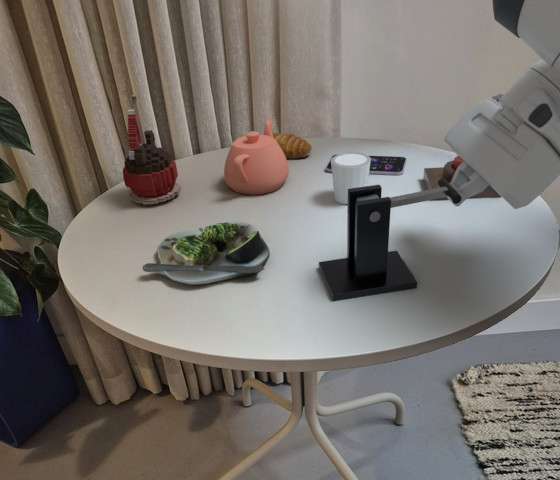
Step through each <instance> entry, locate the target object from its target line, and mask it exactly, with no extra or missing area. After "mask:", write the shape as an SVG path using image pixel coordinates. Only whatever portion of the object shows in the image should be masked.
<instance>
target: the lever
mask: <svg viewBox="0 0 560 480" xmlns="http://www.w3.org/2000/svg"><path fill="white" fill-rule="evenodd" d="M437 185H438V187H439V188H435V189H430V190H427V189H426V190H420V191H416V192H411V193H405V194H401V195H397V196H391V197H390V196H389V198H390V199H391V209H392V208H399V207H402V206H408V205H413V204H417V203H418V204H419V203H422V202H428V201H430V200H433V199H438V198H443V197H448V198H449V199H450V200H451V201H452V202H453V203H454V204H458V203H460V201H461V199H462V197H461V196H460V195H459V194H458V193H457V192H456V190H455V189H454V188H453V187H452V186H451V185H450V184H449V183H448V182H447V181H446V180H445V179H440V180H439V181H438V183H437ZM377 198H379V197H378V195H377V194H376V193H375V194H370V195H365V196H360V197H356V201H363V200H370V199H377ZM450 200H449V201H450ZM451 201H450V202H451ZM452 202H451V203H452ZM453 203H452V204H453ZM454 204H453V205H454Z"/></svg>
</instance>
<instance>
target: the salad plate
mask: <svg viewBox="0 0 560 480" xmlns="http://www.w3.org/2000/svg"><path fill="white" fill-rule="evenodd" d="M156 253H157V258H158V261H159V263H154V262H151V263H150V262H149V263H145V264H143V265H142V271H143V272H146V273H152V274H153V273H154V274H158V275H162V276H165V277H167V278H168V279H170V280H171V281H174V282H178V283H181V284H186V285H206V284H211V283H217V282H222V281H227V280H228V281H229V280H234V279H239V278H243V277H247V276H251V275H253V274H255V273H259V272H261V271H264V270H265V267H264V266H265V265H266V263H267V261H268V260H269V259H270V255H271V253H270V248H269V246H268V245H267V243H266V241H265V240H264V238H263V237H262V235H261V233H260V232H259V230H257V229H256V227H255V226H254V225H252V224H251V223H249V222H244V221H236V220H229V221H228V220H227V221H221V222H217V223H215V224H209V225H205V226H203V227H198V228H194V229H188V230H183V231H177V232H175V233H172V234H170V235H168V236H166V237H165V238H163V240H161V241H160V242H159V244H158V246H157V248H156Z"/></svg>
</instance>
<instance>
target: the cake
mask: <svg viewBox="0 0 560 480" xmlns="http://www.w3.org/2000/svg"><path fill="white" fill-rule="evenodd" d="M130 98H131V103H132V106H133V109H131V108H130V109H128V110H127V113H126V116H127V136H128V145H129V147H128V148H129V150H128V156H127V157H126V158H125V161H124V162H123V163H124V167H123V168H122V179H123V183H124V186H126V188H129V189H130V191H129V193H128V198H130V200H131V201H133V202H134V203H136V204H142V205H158V204H159V203H165V202H166V201H170V200H171V199H174V198H175V197H176V196H179V195H180V191H181V185H179V183H178V182H177V178H178V177H179V173H178V168H177V167H178V166H177V162H176V161H175V160H174V158H172V156H171V154H169V151H167V150H165V148H163V147H162V146H161V147H157V145H156V142H155V141H156V137H155V133H154V132H153V129H152V130H144V125H143V120H142V116H141V112H140V108H139V103H138V99H137V95H136V94H132V95H131V96H130Z"/></svg>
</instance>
